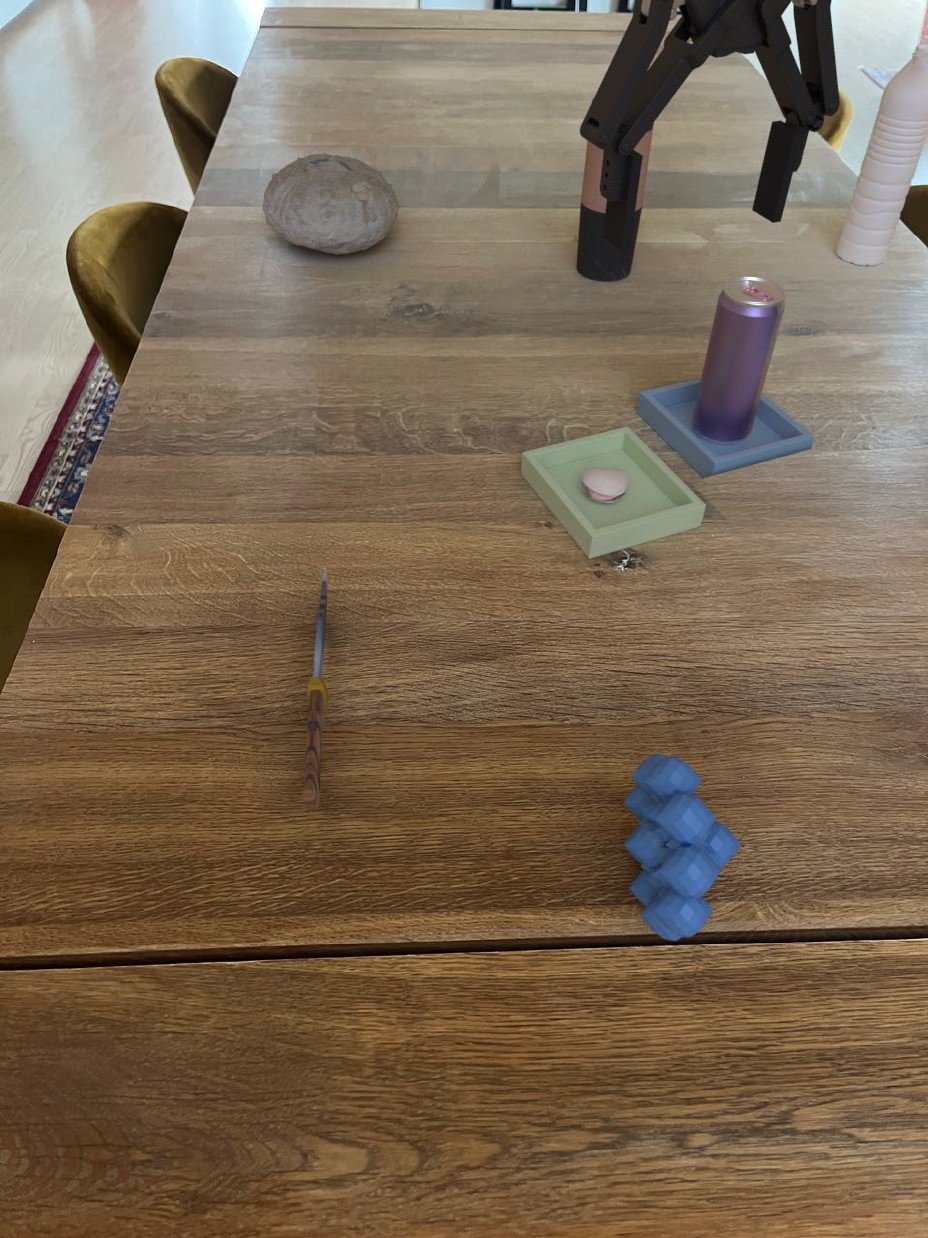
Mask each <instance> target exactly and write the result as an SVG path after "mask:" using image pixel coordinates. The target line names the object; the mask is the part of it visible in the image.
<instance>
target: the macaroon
mask: <svg viewBox="0 0 928 1238" xmlns="http://www.w3.org/2000/svg"><path fill="white" fill-rule="evenodd" d="M628 480H629V477H628V472H626V471H623V470H619V469H614V468H592V469H589V470H588V471H586V472H585V473H584V475H583V478H582V489H583V491H584V492H585V493H586V494H587V495H588V496H589V498H590V499H592V500H595V501H597V502H599V503H614V502H616V501H618V500H620V498H621V497H622V496H623V495H624V494H625V492H626V490H627V486H628Z"/></svg>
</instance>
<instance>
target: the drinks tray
mask: <svg viewBox="0 0 928 1238" xmlns="http://www.w3.org/2000/svg"><path fill="white" fill-rule="evenodd" d="M700 381H701V377H698V378H694V379H689V380H687V381H682V382H677V383H674V384H668V385H665V386H661V387H656V388H651V389H647V390H644V391H643V390H642V391H640V392H639V397H638V402H637V409H636V414H637V415H638V416H639V417H640V418H641V419H642V420H643V421H645V423H647V425H648V426H650V427H651V428H652V430H653V431H654V432H656V433H657V435H659V436H660V438H662V439H663V440H664V441H665V442H666V443H667V444H668V445H669V446H670V447H671V448H672V449H673V450H674V451H675V452H676V453H677V454H678V455H679V456H680V457H681V458H682V459H683V460H685V462H686V463H687V464H688V465H689V466H690V467H691V468H692V469H693V470H694V471H696V472H697V474H698V475H700V476H701V478H703V479H706V478H709V477H714V476H717V475H720V474H726V473H729V472H732V471H736V470H739V469H742V468H747V467H750V466H753V465H757V464H762V463H765V462H769V461H772V460H776V459H780V458H783V457H786V456H790V455H794V454H798V453H801V452H805V451H808V450H812V446H813V444H814V440H815V436H814V435H813V434H812V433H811V432H809V430H807V429H806V428H805V427H804V426H802V425H801V424H800V423H799V422H798V421H796V420H795V419H794V418H793V417H791V416H790V415H789V414H788V413H786V412H785V411H784V410H782V408H780V407H779V406H778V405H777V404H775V403H774V402H773V401H772V400H771V399H770V398H768V397H767V396H766V395H764V394H763V393H762V394H761V397H760V401H759V405H758V409H757V412H756V416H755V420H754V423H753V427H752V431H751V433H750V434H749V435H748V436H747V437H746V438H745V439H744V440H742V441H741V442H738V443H735V444H730V445H722V444H716V443H712V442H709V441H707V440H705V439H703V438H701V437H700V436H699V435H698V434H697V433H696V431H695V429H694V427H693V424H692V418H693V414H694V409H695V404H696V400H697V395H698V391H699V386H700Z"/></svg>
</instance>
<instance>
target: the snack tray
mask: <svg viewBox="0 0 928 1238" xmlns="http://www.w3.org/2000/svg"><path fill="white" fill-rule="evenodd" d="M521 453H522V454H521V465H520V475H521V476H522V477H523V478H524V479H525V481H526V482H527V483H528V484H529V486H530V487H531V488H532V490H533V491H534V492H535V493H536V495H537V496H538V497H539V498H540V499H541V501H542V503H544V505H545V506H546V507H547V508H548V509H549V511H550V512H551V513H552V514H553V516H554V517H555V518H556V520H557V521H558V523H560V525H561V526H562V527H563V529H564V530H565V531H566V532H567V533H568V535H569V536H570V537H571V538H572V540H573V541H574V542H575V543H576V544H577V546H578V548H580V549H581V551H582V552H583V553H584V554H585V556H586V557H587V558H588V559H589V560H590V559H594V558H597V557H601V556H604V555H607V554H612V553H615V552H618V551H621V550H625V549H628V548H632V547H635V546H638V545H642V544H645V543H649V542H653V541H655V540H660V539H663V538H667V537H669V536H674V535H676V534H681V533H684V532H687V531H691V530H694V529H698V528H701V526H702V522H703V519H704V515H705V511H706V507H707V504H706V503H705V502H704V501H703V500H702V499H701V498H700V497H698V495H697V494H695V492H693V490H692V489H691V488H690V487H689V486H688V485H687V484H686V483H685V482H684V481H683V480H682V479H681V478H679V476H678V475H677V474H676V473H675V472H674V471H673V470H672V469H671V468H670V467H669V466H668V465H667V464H666V463H665V462H664V461H663V460H662V459H661V458H660V457H659V456H658V455H657V454H656V453H655V452H654V451H653V450H652V449H651V448H650V447H649V446H648V445H647V444H646V443H645V442H644V441H643V440H642V439H641V438H640V437H639V436H638V435H637V434H636V433H635V432H634V430H632V429H631V428H630V427H629V426H623V427H619V428H616V429H612V430H607V431H603V432H599V433H595V434H591V435H587V436H582V437H579V438H575V439H571V440H567V441H562V442H559V443H555V444H551V445H546V446H542V447H538V448H534V449H530V450H526V451H523V452H521ZM592 468H614V469H619V470H623V471H626V472H628V477H629V480H628V486H627V490H626V492H625V494H624V495H623V496H622V497H621V498H620V500H618V501H616V502H614V503H599V502H597V501H595V500H592V499H590V498H589V496H588V495H587V494H586V493H585V492H584V491H583V489H582V478H583V475H584V473H585V472H586V471H588V470H589V469H592Z"/></svg>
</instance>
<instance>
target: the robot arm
mask: <svg viewBox="0 0 928 1238" xmlns="http://www.w3.org/2000/svg"><path fill="white" fill-rule="evenodd" d="M791 3H792V5H793V9H792V11H793V13H792V14H793V21H794V28H795V38H796V45H797V53H798V61H799V66H800V67H799V66H798V63H797V61H796V58H795V56H794V53H793V50H792V48H791V45H792V38H791V36H790V34H789V31H788V29H787V26H786V24H785V22H784V19H783V17H782V16H783V14H784V13H785V12H786V10H787V9H788V7H789V5H790V4H791ZM831 7H832V0H635V2H634V7H633V13H632V17H631V20H630V21H629V23H628V25H627V28H626V30H625V32H624V34H623V36H622V38H621V40H620V42H619V44H618V46H617V49H616V51H615V53H614V55H613V57H612V59H611V62H610V64H609V66H608V68H607V70H606V72H605V73H604V76H603V78H602V80H601V83H600V84H599V87H598V89H597V91H596V93H595V95H594V97H593V98H594V99H593V98H592V100H593V101H592V100H591V104H590V106H589V107H588V110H587V112H586V114H585V116H584V118H583V120H582V122H581V124H580V127H579V134H580V137H582V138H583V139H584V140H585V141H589V142H591V143H592V144H594V145H595V146H597V147H598V148H600V149H603V162H602V171H601V181H600V193H601V196H603V197H604V198H606V199H607V204H606V212H605V220H604V229H603V237H604V238H605V239H607V240H608V241H609V242H610V243H612V244H613V245H614V246H616V247H617V248H618V249H619V250H621V251H622V250H627V249H630V244H631V236H632V229H633V222H634V215H635V208H636V201H637V194H638V187H639V180H640V172H641V165H642V158H643V155H641V154H639V153H638V152H636V151H635V150H634V148H635V147H636V146H637V144H638V143H639V142H640V140H641V139H642V138H643V136H644V135H645V134H646V132H647V131H648V130H649V128H650V127H651V126H652V124H653V123H654V124H655V122H656V121H657V119H658V118H659V116H660V115H661V114H662V113H663V111H664V109H665V108H666V107H667V106H668V104H669V103H670V101H671V100H672V99H673V98H674V96H675V95H676V94H677V92H678V91H679V89H680V88H681V87H682V86H683V84H684V83H685V81H687V79H688V78H689V76H690V75H691V74H692V72H693V71H694V70H696V69H698V68H700V67H702V66H703V65H704V64H705V63H706V61H707V60H708V58H709V57H710V56H711V57H713V58H716V59H717V58H725V57H728V56H730V55H732V54H734V53H738V54H742V55H751V54H755V55H756V58H757V60H758V62H759V64H760V66H761V67H760V68H761V69H762V71H763V73H764V76H765V78H766V80H767V82H768V85H769V87H770V89H771V91H772V94H773V96H774V98H775V101H776V103H777V105H778V107H779V110H780V111H781V114H782V116H783V117H784V119H785V121H783V120H782V119H781V120H780V119H779V120H774V121H773V120H772V121H771V124H770V129H769V133H768V137H767V142H766V147H765V151H764V155H763V159H762V165H761V169H760V173H759V179H758V181H757V186H756V191H755V195H754V200H753V204H752V208H751V211H753V212H754V213H756V214H757V215H759V216H761V217H762V218H764V219H765V220H767V221H770V222H771V223H772V224H774V223H775V224H776V223H780V222H782V219H783V214H784V211H785V206H786V202H787V199H788V194H789V190H790V187H791V182H792V179H793V175H794V173H797V172H798V170H799V168H800V167H801V165H802V161H803V156H804V153H805V148H806V145H807V141H808V137H809V133H810V132H812V133H817V132H818V131H820V130H821V129H822V127H823V126H824V123H825V116H826V117H833V116H834V115H835V114H836V113H838V111H839V108H840V106H841V105H840V104H841V102H840V93H839V91H840V90H839V82H838V73H837V72H838V71H837V61H836V51H835V41H834V40H835V39H834V31H833V20H832V13H831V12H832V9H831ZM677 10H679V12H680V15H681V17H680V18H678V20H677V22H676V23H675V24H674V26H673V27H672V29H671V30H670V31H669V33H668V34H667V36H666V33H667V30H668V27H669V22H671V21H674V20H675V19H676V18H677V15H678V11H677ZM665 36H666V37H665ZM664 38H665V39H664ZM689 38H691V40H692V41H691V44H689V43H687V41H688V39H689ZM663 40H664V41H663ZM662 42H663V47H662V50H661V51H660V52H659V54H658V55H657V56H656V54H657V53H658V50H659V48H660V46H661V44H662ZM655 56H656V58H655ZM654 58H655V59H654ZM653 60H654V61H653Z"/></svg>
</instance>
